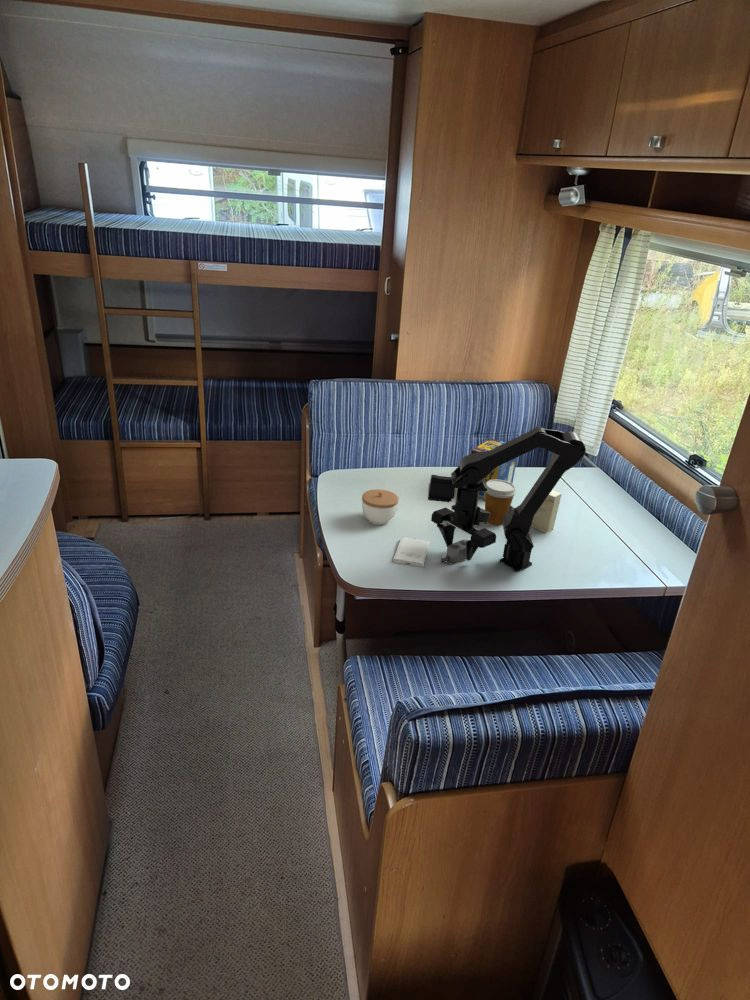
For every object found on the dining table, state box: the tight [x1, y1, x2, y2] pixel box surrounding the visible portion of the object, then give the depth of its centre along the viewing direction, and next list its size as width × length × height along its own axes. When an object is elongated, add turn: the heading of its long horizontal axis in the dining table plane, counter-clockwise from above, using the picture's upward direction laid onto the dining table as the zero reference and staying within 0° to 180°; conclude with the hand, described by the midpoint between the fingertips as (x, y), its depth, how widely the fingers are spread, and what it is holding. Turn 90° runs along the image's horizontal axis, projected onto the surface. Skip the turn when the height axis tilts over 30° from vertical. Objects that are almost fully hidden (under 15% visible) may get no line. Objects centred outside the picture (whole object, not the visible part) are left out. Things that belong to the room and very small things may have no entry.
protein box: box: [470, 438, 518, 500], centre depth 217 cm, size 10×15×16 cm
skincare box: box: [531, 489, 563, 533], centre depth 195 cm, size 6×4×12 cm
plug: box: [440, 538, 470, 565], centre depth 177 cm, size 13×4×4 cm, turn 130°
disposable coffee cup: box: [484, 479, 517, 526], centre depth 197 cm, size 10×10×12 cm
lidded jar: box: [361, 488, 399, 526], centre depth 193 cm, size 11×11×9 cm
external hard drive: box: [392, 536, 431, 567], centre depth 178 cm, size 2×8×12 cm
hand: (459, 554), depth 177 cm, fingers open, 7 cm apart
